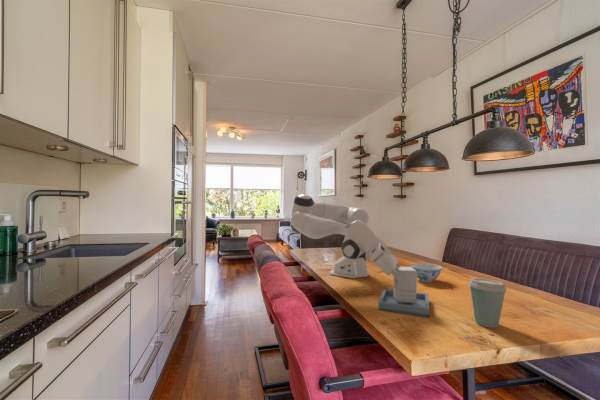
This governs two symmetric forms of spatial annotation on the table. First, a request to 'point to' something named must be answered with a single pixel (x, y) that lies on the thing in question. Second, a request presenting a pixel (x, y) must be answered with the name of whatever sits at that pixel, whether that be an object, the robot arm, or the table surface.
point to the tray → (404, 304)
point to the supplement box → (405, 285)
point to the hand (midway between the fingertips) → (402, 276)
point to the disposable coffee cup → (487, 301)
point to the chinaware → (427, 271)
